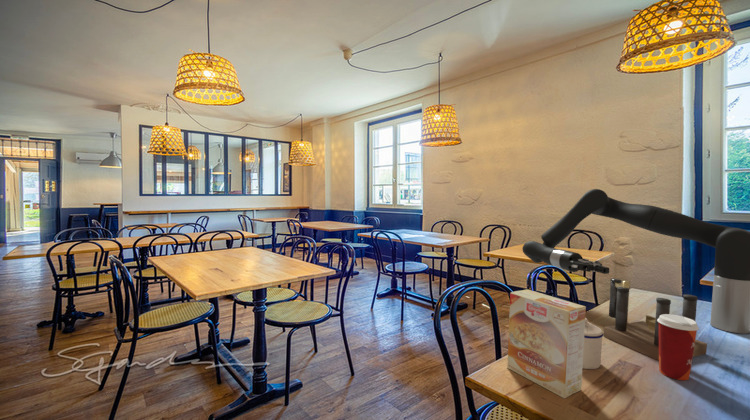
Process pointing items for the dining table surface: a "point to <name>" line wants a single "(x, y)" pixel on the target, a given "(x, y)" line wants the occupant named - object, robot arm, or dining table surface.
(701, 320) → the dining table surface
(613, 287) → the grey post frame
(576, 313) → the coffeecake box
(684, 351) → the paper cup
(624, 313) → the base with upright pegs
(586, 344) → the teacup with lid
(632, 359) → the dining table surface
